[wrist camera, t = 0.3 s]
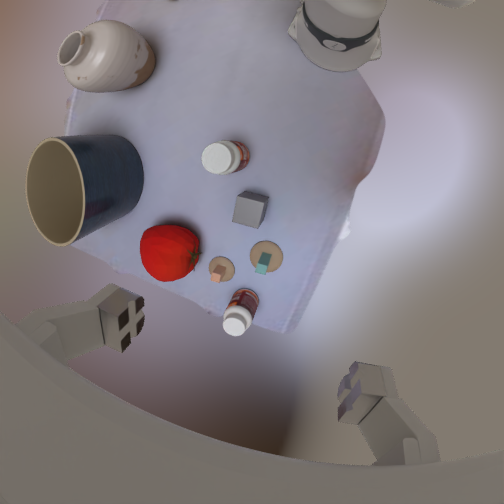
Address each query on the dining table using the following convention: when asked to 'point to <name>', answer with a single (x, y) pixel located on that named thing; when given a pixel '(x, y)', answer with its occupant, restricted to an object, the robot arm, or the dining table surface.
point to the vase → (106, 57)
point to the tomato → (169, 252)
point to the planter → (81, 185)
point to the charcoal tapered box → (250, 209)
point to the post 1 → (221, 269)
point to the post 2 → (266, 257)
